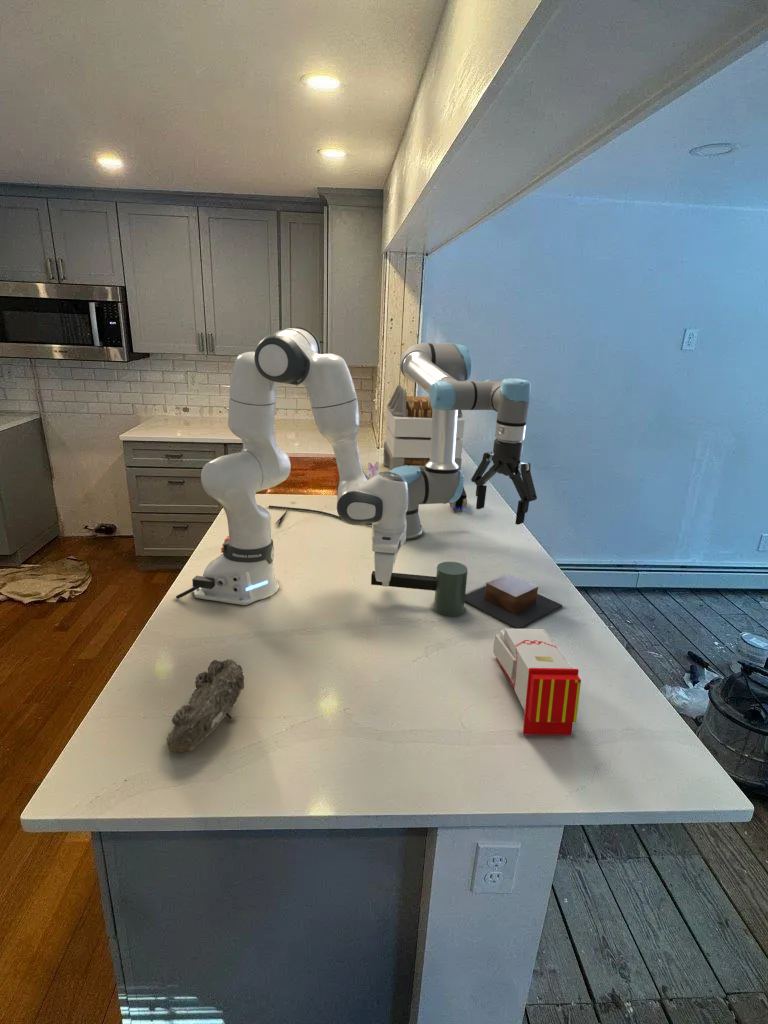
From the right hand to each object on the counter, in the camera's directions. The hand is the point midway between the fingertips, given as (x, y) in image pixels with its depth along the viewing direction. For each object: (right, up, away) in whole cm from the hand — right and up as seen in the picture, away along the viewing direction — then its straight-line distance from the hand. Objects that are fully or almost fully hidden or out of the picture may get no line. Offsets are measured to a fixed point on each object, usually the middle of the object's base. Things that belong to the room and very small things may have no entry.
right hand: (499, 515), depth 156 cm
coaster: (+3, -24, 0) cm, 24 cm away
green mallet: (-23, -24, -3) cm, 33 cm away
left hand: (-31, -18, -4) cm, 36 cm away
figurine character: (-2, +3, +74) cm, 74 cm away
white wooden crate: (-14, +20, +119) cm, 122 cm away
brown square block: (+3, -24, 0) cm, 24 cm away
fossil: (-64, -38, -47) cm, 89 cm away
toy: (-1, -37, -36) cm, 51 cm away
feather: (-69, 0, +58) cm, 90 cm away
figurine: (-36, +7, +81) cm, 89 cm away
